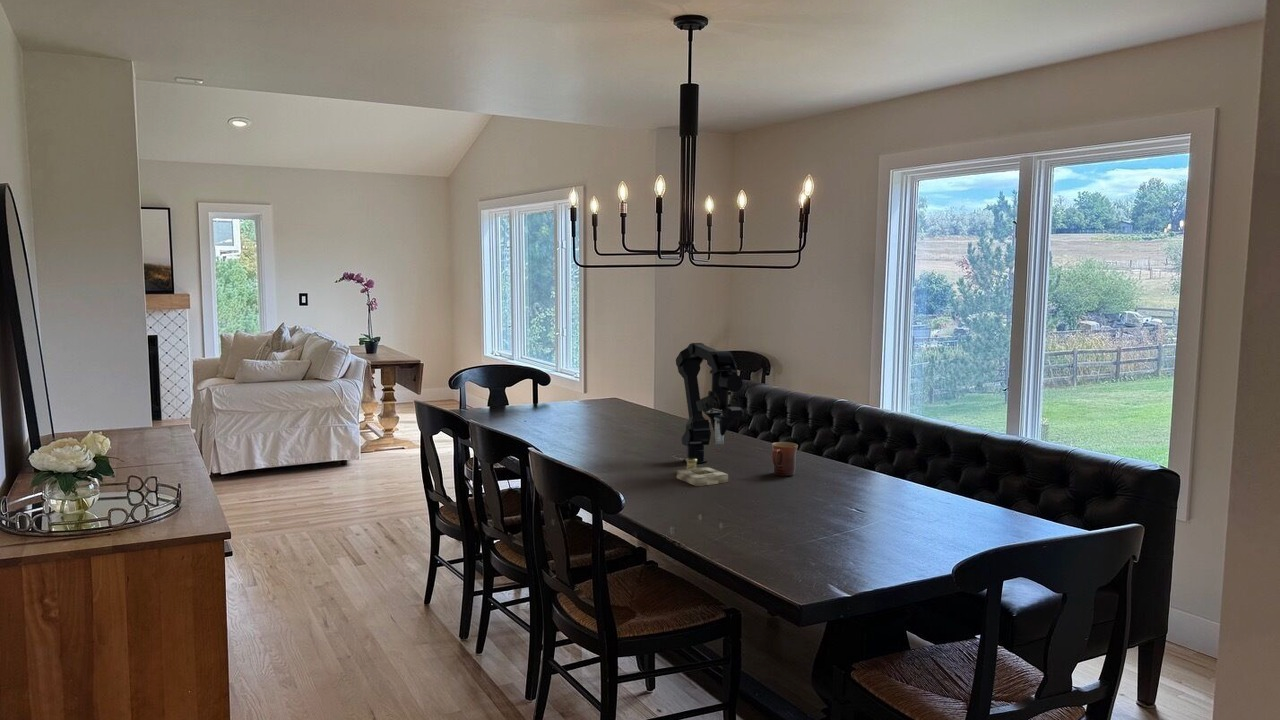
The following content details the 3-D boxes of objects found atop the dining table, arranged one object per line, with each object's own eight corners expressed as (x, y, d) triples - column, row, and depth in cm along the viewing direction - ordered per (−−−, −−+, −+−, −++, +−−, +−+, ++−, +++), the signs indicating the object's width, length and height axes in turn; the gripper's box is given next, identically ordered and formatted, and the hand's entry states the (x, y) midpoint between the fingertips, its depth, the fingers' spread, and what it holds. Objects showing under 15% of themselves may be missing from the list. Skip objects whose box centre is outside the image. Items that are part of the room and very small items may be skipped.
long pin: (711, 442, 295) (711, 416, 294) (720, 441, 297) (720, 415, 296) (717, 444, 292) (718, 418, 291) (726, 443, 294) (727, 417, 293)
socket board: (676, 478, 287) (676, 470, 287) (707, 474, 293) (707, 466, 293) (696, 486, 277) (697, 477, 276) (727, 482, 283) (728, 474, 282)
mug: (778, 470, 301) (779, 441, 300) (801, 474, 296) (802, 444, 295) (761, 476, 291) (762, 446, 290) (784, 480, 286) (785, 449, 285)
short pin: (683, 471, 297) (683, 458, 296) (693, 470, 298) (693, 457, 298) (689, 474, 293) (690, 460, 293) (699, 472, 295) (699, 459, 295)
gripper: (684, 386, 297) (683, 431, 298) (717, 393, 281) (716, 441, 282) (711, 384, 302) (710, 429, 304) (744, 391, 286) (743, 438, 288)
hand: (719, 434), depth 294 cm, fingers closed on long pin, 3 cm apart
